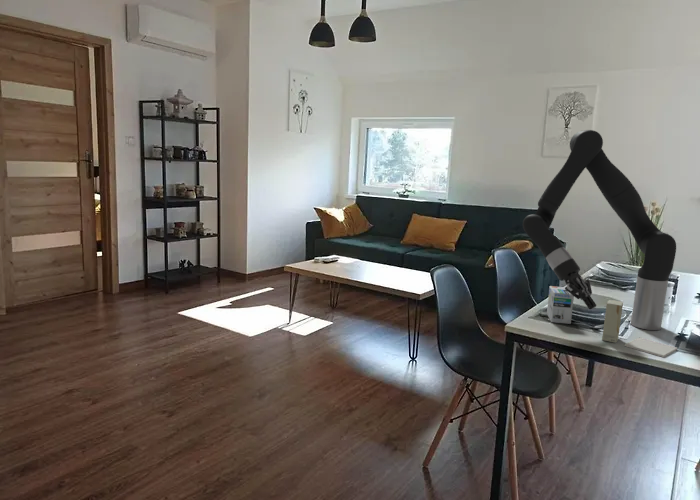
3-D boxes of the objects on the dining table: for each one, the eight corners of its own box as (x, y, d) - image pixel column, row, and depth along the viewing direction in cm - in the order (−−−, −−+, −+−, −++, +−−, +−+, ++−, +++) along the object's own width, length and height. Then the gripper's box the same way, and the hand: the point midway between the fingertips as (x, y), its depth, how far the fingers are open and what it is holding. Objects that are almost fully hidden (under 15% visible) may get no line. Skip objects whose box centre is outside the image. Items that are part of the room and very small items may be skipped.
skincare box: (616, 343, 162) (621, 305, 160) (601, 340, 165) (606, 303, 163) (618, 338, 168) (623, 301, 166) (603, 335, 170) (608, 299, 168)
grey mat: (639, 339, 168) (639, 337, 167) (677, 349, 159) (677, 347, 159) (624, 346, 161) (624, 344, 160) (663, 357, 152) (663, 355, 152)
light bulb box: (571, 324, 180) (574, 294, 178) (550, 322, 181) (554, 292, 179) (565, 315, 190) (568, 287, 189) (545, 313, 192) (548, 285, 190)
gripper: (560, 259, 170) (592, 304, 163) (580, 256, 178) (611, 299, 171) (544, 271, 175) (574, 316, 168) (564, 268, 183) (593, 310, 176)
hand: (593, 307), depth 170 cm, fingers closed
